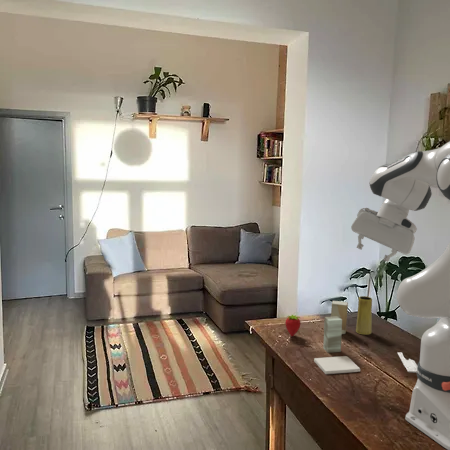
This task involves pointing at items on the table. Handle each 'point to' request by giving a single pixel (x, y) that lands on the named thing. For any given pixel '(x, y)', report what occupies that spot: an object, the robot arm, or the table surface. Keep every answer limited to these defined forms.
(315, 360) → the ceramic tile
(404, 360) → the butcher knife
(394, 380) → the table surface
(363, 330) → the vase
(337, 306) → the skincare box
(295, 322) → the strawberry
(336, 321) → the handle block
